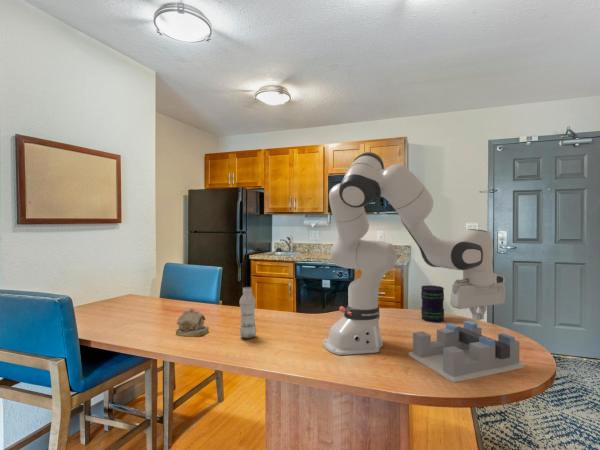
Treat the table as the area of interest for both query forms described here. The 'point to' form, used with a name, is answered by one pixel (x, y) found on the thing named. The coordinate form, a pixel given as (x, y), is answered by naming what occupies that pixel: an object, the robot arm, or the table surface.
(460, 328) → the dark square rod
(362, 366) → the table surface
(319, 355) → the table surface
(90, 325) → the table surface
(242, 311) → the plastic bottle
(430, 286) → the black ribbed barrel
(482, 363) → the grey slotted fixture rack
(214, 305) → the table surface
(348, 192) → the robot arm
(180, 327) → the ceramic model
